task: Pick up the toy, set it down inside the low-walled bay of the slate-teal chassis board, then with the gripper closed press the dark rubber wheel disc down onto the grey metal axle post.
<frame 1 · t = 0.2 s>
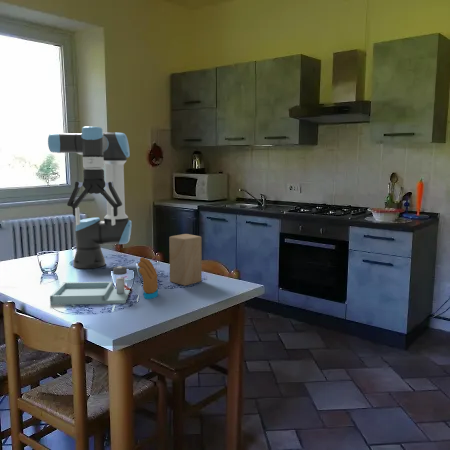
hand: (95, 224, 173), 28 cm above the table, fingers open, 13 cm apart
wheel: (119, 270, 175), point 10 cm above the table, slide at 0.0 cm
chassis: (93, 296, 175), on the table
wooden block: (185, 282, 197), on the table
toy: (149, 295, 178), on the table
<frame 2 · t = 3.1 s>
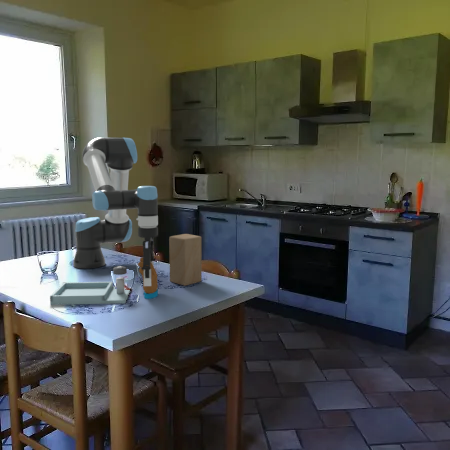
hand: (149, 281, 177), 5 cm above the table, fingers closed on toy, 11 cm apart
toy: (149, 295, 178), on the table, touching gripper
everything else where it was.
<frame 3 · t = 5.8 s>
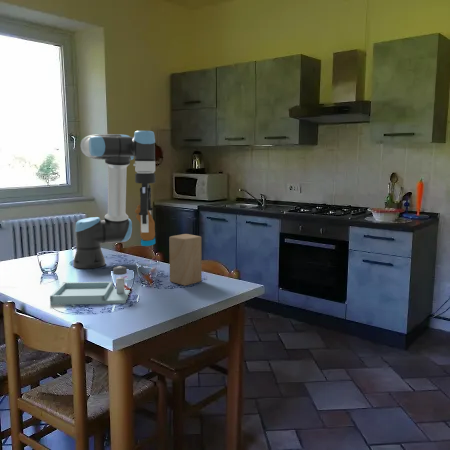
hand: (146, 229, 174), 26 cm above the table, fingers closed on toy, 11 cm apart
toy: (146, 243, 175), point 20 cm above the table, touching gripper
everything else where it was.
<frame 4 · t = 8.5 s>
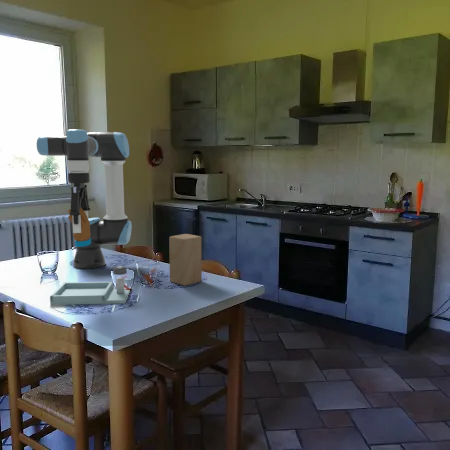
hand: (81, 230, 171), 26 cm above the table, fingers closed on toy, 11 cm apart
toy: (82, 244, 172), point 20 cm above the table, touching gripper
everything else where it was.
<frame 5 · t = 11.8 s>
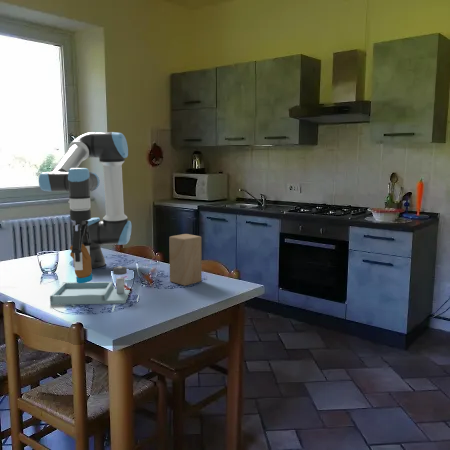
hand: (82, 266, 173), 12 cm above the table, fingers closed on toy, 11 cm apart
toy: (83, 279, 174), point 7 cm above the table, touching gripper
everything else where it was.
when the fingers open (8 cm above the table, at t = 13.7 s): toy drops 1 cm, resting on chassis.
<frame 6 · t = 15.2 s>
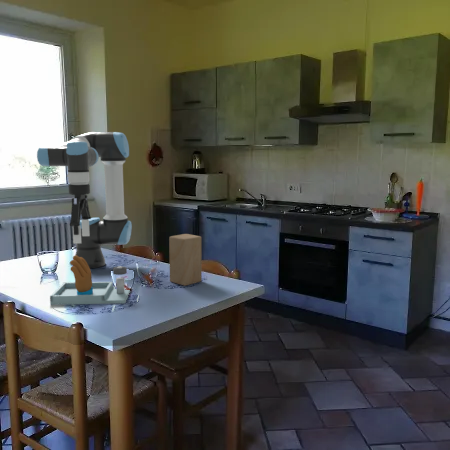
hand: (81, 239, 172), 22 cm above the table, fingers open, 13 cm apart
toy: (83, 293, 175), point 1 cm above the table, touching chassis
everything else where it was.
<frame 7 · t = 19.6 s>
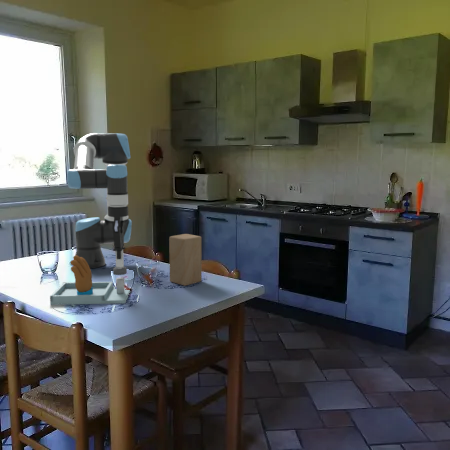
hand: (119, 266, 174), 12 cm above the table, fingers closed
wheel: (119, 270, 175), point 10 cm above the table, slide at -0.1 cm, touching gripper
everything else where it was.
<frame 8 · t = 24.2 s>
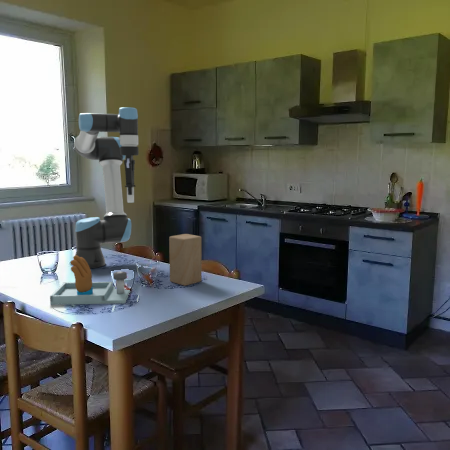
hand: (130, 202, 192), 34 cm above the table, fingers closed
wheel: (120, 275, 175), point 8 cm above the table, slide at -2.1 cm
everything else where it was.
at the end: toy inside the target area on the chassis (0.3 cm from its centre), point 1.0 cm above the chassis's base; the gripper is holding nothing; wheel slide at -2.1 cm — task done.
